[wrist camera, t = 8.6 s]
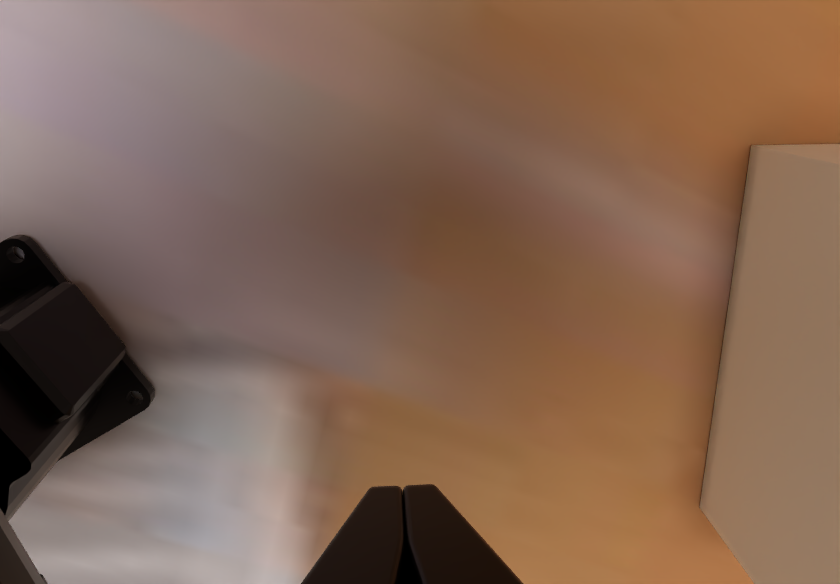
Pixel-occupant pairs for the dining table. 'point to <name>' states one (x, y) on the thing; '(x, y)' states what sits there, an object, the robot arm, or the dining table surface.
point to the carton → (781, 374)
